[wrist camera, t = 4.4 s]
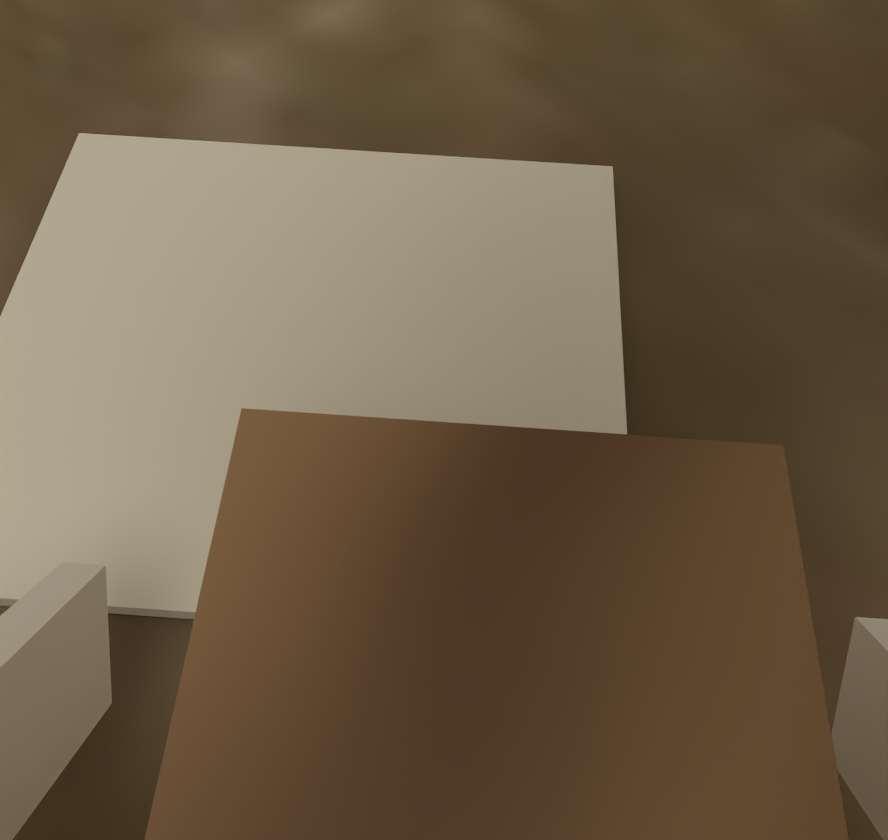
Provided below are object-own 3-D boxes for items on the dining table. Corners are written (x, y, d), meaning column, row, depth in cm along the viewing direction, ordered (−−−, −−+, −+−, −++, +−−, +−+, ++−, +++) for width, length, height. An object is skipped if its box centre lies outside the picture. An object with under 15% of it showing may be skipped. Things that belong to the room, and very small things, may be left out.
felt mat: (609, 180, 28) (612, 166, 27) (633, 651, 20) (638, 643, 19) (85, 147, 28) (79, 133, 28) (-104, 597, 20) (-118, 589, 20)
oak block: (592, 690, 19) (783, 444, 9) (599, 1000, 16) (901, 1165, 6) (338, 672, 19) (241, 408, 9) (299, 977, 16) (86, 1098, 6)
